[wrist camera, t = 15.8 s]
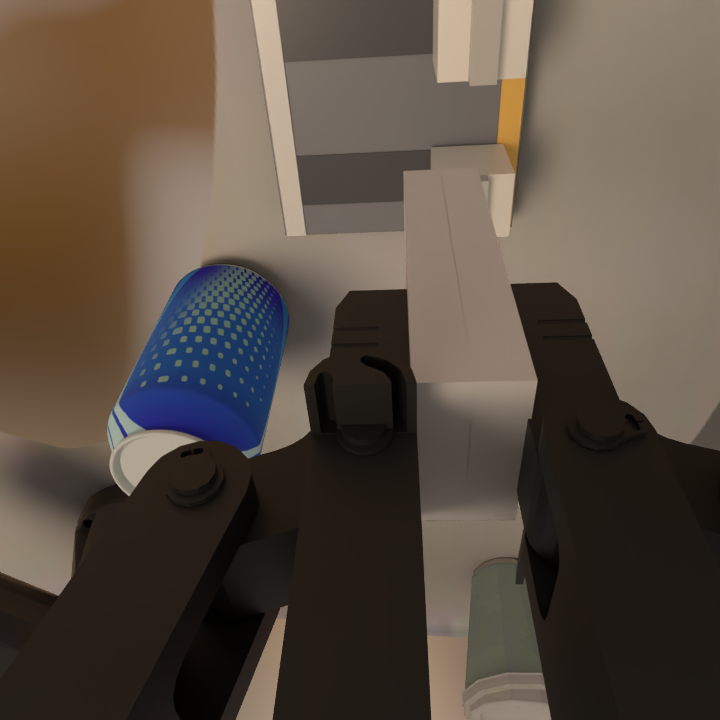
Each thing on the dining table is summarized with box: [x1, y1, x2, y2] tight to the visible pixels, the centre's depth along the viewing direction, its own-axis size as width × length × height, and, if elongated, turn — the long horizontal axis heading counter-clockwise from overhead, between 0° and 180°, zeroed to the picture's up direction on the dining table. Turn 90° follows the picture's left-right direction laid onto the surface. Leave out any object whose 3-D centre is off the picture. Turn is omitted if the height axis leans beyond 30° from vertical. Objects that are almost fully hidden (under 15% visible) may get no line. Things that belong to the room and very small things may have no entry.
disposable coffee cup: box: [462, 558, 551, 720], centre depth 59 cm, size 11×11×15 cm
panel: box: [250, 0, 535, 237], centre depth 29 cm, size 14×23×7 cm, turn 4°
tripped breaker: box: [433, 0, 534, 86], centre depth 28 cm, size 4×4×5 cm
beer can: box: [107, 264, 289, 496], centre depth 38 cm, size 8×8×16 cm
